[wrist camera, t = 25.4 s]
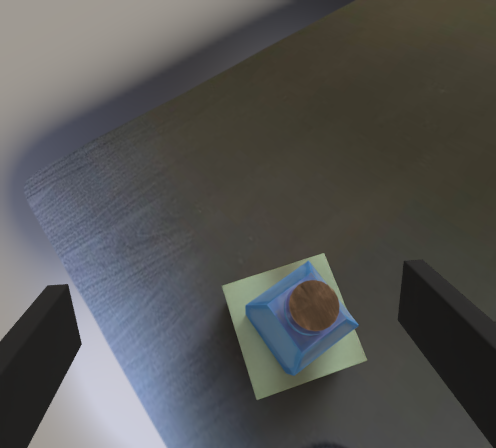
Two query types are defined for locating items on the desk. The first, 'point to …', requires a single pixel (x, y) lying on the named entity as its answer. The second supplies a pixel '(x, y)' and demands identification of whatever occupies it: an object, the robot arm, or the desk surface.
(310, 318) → the perfume bottle
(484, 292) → the desk surface
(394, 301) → the desk surface
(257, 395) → the pale green square pedestal
